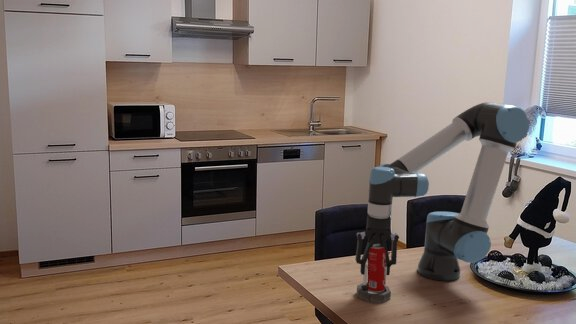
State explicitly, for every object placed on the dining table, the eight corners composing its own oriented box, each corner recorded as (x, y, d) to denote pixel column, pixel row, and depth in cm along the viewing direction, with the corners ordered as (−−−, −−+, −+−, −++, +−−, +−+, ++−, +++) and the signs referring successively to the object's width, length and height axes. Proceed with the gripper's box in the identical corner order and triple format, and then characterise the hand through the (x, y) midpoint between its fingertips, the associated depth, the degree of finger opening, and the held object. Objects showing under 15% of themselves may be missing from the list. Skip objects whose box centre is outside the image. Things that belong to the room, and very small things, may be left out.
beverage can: (384, 294, 180) (388, 249, 177) (364, 291, 181) (367, 247, 179) (385, 287, 186) (388, 243, 183) (365, 284, 187) (368, 241, 184)
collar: (385, 289, 189) (386, 282, 189) (392, 303, 179) (392, 295, 179) (355, 289, 189) (355, 282, 189) (359, 302, 179) (360, 294, 178)
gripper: (405, 213, 183) (399, 280, 187) (348, 211, 183) (344, 278, 187) (410, 219, 176) (404, 289, 180) (351, 217, 175) (347, 287, 179)
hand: (374, 283), depth 183 cm, fingers closed on beverage can, 6 cm apart
